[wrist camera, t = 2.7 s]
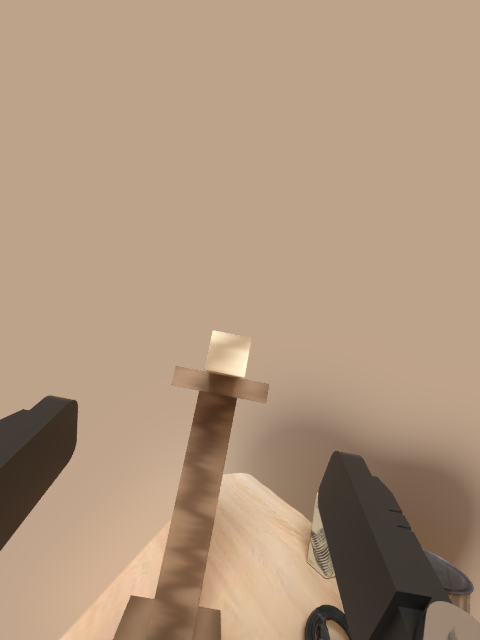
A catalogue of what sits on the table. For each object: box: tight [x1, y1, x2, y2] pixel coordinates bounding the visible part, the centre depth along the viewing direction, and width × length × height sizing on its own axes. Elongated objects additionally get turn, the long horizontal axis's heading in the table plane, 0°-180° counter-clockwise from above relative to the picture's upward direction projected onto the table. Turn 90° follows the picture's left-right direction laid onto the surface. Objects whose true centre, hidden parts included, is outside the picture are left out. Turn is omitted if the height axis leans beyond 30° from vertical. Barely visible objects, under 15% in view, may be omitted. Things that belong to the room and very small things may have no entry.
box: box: [307, 493, 335, 578], centre depth 56 cm, size 5×4×13 cm
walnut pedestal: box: [113, 366, 269, 640], centre depth 34 cm, size 12×15×32 cm
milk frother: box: [305, 548, 474, 640], centre depth 35 cm, size 14×16×15 cm
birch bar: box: [205, 331, 251, 378], centre depth 33 cm, size 3×24×3 cm, turn 4°
